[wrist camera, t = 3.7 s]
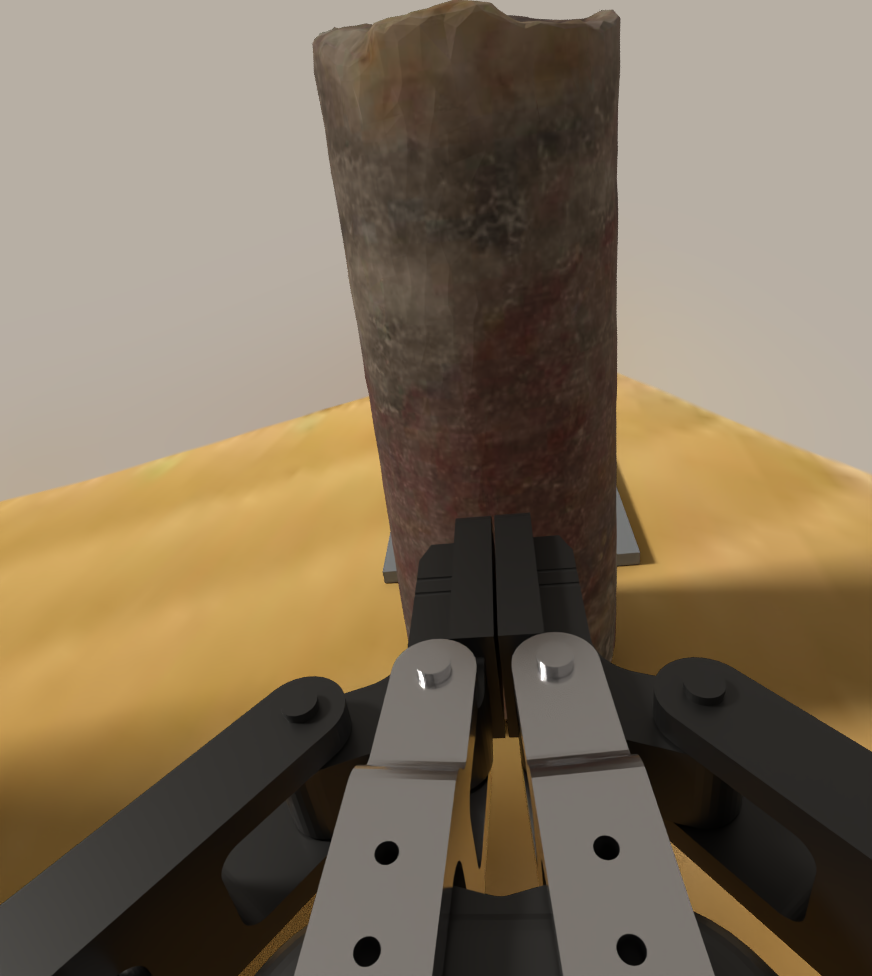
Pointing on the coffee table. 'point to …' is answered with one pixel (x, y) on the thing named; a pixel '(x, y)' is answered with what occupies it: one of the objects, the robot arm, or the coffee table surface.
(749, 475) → the coffee table surface
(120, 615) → the coffee table surface
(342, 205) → the reddish brown cylinder
